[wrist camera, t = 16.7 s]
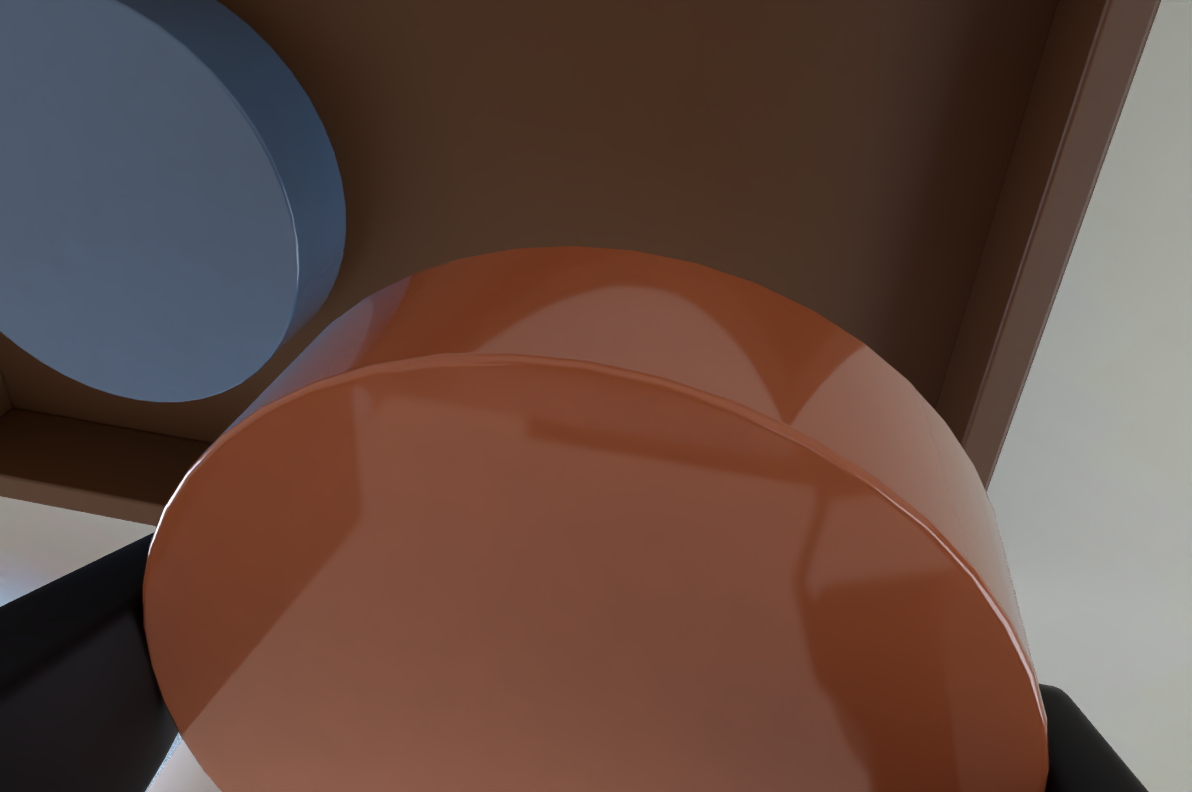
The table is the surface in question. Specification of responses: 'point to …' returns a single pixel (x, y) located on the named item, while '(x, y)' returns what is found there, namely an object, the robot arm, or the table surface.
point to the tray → (673, 182)
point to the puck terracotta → (590, 553)
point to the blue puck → (158, 195)
